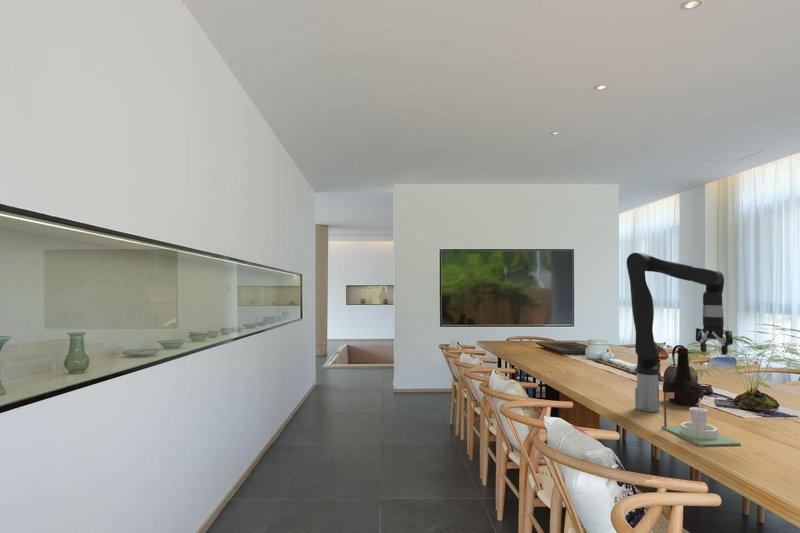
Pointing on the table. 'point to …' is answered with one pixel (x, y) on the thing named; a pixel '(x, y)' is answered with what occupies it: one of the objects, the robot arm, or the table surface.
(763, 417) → the table surface
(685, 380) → the glass bottle
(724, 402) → the picture frame
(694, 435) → the practice green
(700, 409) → the smoothie
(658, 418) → the table surface
